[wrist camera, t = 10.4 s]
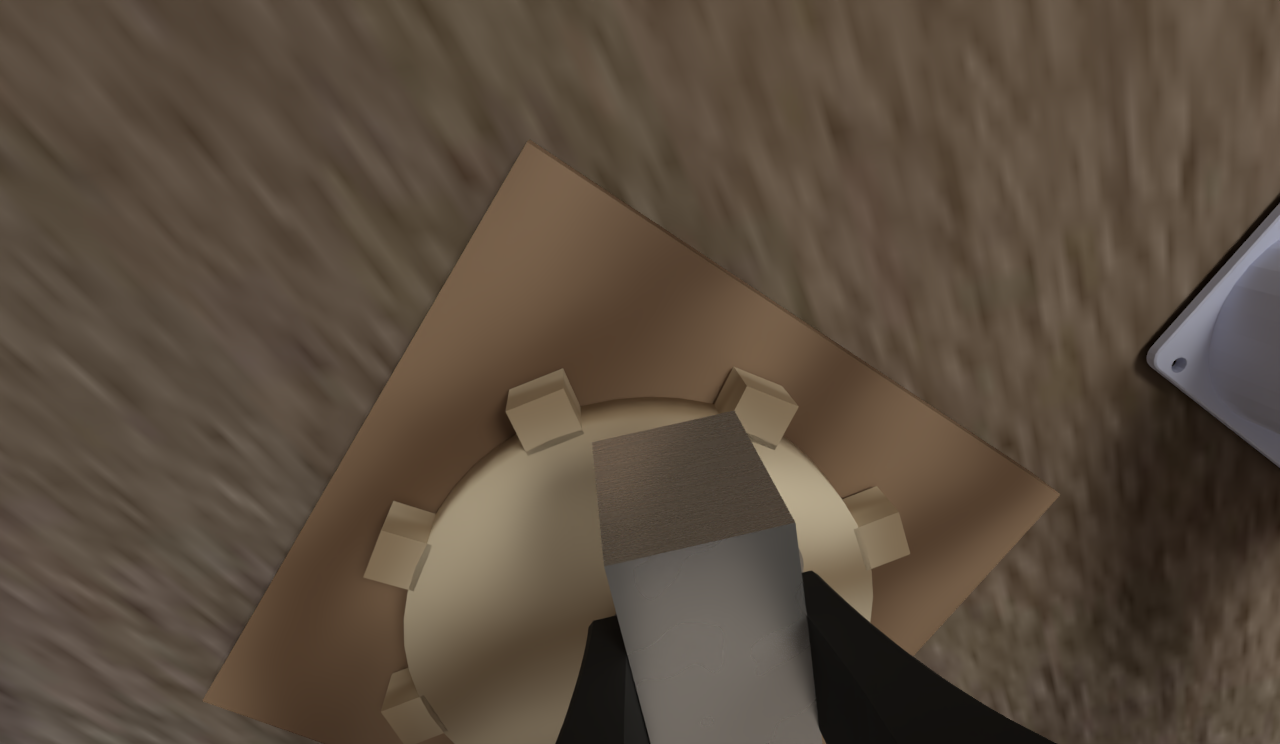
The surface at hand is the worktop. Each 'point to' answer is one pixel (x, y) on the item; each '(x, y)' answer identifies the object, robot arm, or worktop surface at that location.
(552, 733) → the sprocket wheel
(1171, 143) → the worktop surface
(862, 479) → the base board
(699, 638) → the link block
